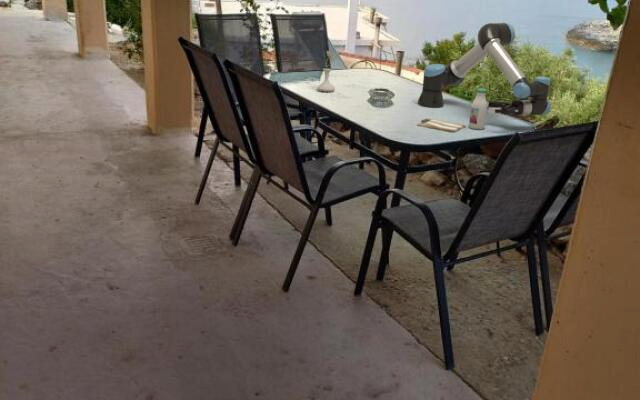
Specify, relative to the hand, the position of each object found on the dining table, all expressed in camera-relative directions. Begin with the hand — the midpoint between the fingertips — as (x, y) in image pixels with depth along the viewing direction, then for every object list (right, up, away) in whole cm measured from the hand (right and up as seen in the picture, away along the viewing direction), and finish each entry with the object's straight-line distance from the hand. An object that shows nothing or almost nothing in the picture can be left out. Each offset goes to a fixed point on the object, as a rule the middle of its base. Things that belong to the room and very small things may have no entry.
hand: (482, 107), depth 300 cm
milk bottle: (-2, -10, +4) cm, 11 cm away
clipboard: (-20, -9, +4) cm, 22 cm away
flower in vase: (-79, +22, +77) cm, 112 cm away
